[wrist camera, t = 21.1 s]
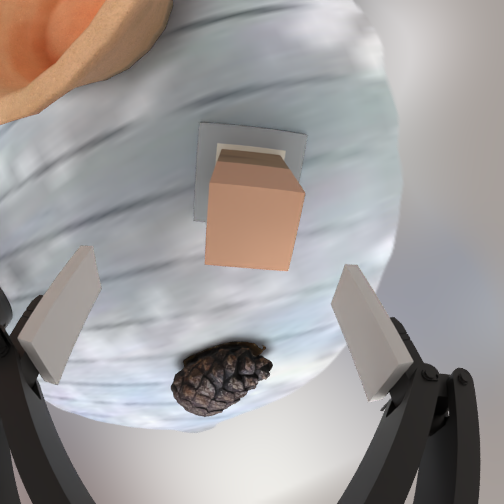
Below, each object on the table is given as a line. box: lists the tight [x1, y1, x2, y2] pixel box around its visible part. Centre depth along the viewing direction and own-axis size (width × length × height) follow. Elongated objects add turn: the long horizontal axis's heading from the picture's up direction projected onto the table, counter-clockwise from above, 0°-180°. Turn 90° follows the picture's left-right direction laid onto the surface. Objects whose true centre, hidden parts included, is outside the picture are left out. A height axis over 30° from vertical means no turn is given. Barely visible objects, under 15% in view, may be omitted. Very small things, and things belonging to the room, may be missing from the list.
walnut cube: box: [217, 149, 289, 169], centre depth 26 cm, size 6×6×6 cm
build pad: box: [194, 122, 308, 222], centre depth 29 cm, size 11×11×1 cm
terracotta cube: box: [205, 161, 305, 271], centre depth 21 cm, size 6×6×6 cm
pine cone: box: [171, 342, 273, 417], centre depth 41 cm, size 10×18×10 cm, turn 131°
